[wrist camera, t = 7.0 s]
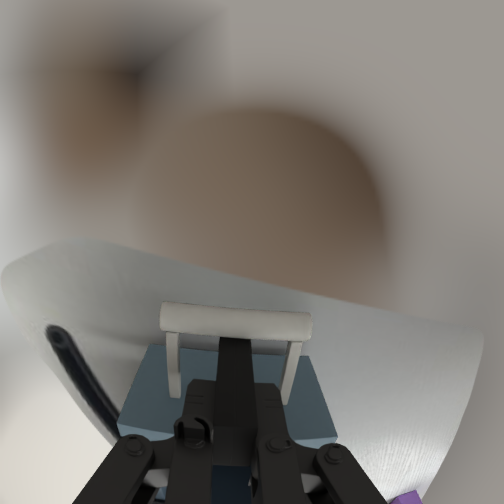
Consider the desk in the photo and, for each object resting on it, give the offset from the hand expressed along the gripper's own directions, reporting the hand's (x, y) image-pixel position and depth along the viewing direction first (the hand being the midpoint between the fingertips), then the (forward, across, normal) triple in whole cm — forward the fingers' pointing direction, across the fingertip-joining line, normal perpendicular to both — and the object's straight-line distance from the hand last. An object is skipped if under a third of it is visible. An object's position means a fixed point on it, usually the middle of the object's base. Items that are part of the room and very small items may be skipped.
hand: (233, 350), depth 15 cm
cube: (+5, +35, -42) cm, 55 cm away
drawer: (+4, 0, -7) cm, 8 cm away
